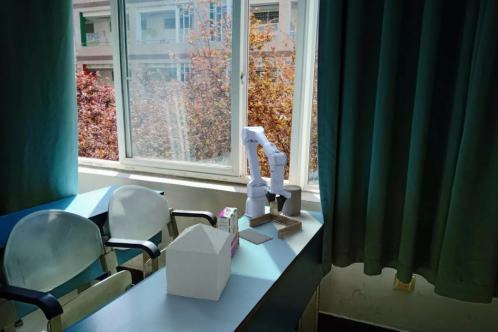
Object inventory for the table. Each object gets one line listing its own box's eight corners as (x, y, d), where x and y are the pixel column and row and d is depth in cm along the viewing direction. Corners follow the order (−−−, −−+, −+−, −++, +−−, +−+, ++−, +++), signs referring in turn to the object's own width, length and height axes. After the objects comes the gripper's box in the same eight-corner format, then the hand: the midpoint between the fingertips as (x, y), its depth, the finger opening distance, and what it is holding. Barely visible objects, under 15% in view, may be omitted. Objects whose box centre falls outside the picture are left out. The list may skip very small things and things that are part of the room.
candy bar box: (224, 246, 136) (225, 206, 133) (237, 248, 135) (237, 207, 132) (216, 259, 125) (216, 216, 122) (230, 261, 124) (230, 217, 121)
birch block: (269, 213, 155) (269, 202, 154) (275, 211, 158) (275, 200, 157) (276, 215, 152) (276, 204, 151) (282, 213, 155) (282, 202, 154)
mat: (233, 234, 148) (233, 233, 148) (248, 229, 154) (248, 228, 154) (257, 244, 138) (257, 243, 138) (272, 238, 145) (272, 237, 145)
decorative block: (231, 273, 116) (231, 216, 112) (218, 301, 100) (218, 235, 96) (185, 268, 118) (184, 212, 115) (165, 294, 103) (163, 230, 99)
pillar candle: (301, 211, 180) (302, 183, 177) (299, 217, 171) (300, 187, 168) (282, 209, 182) (283, 181, 179) (279, 215, 173) (280, 186, 170)
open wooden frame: (249, 226, 158) (249, 219, 157) (271, 218, 168) (271, 211, 167) (279, 238, 145) (280, 230, 144) (301, 229, 155) (302, 221, 155)
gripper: (258, 178, 154) (257, 208, 157) (284, 185, 144) (282, 216, 147) (269, 176, 159) (268, 204, 162) (294, 182, 149) (293, 212, 152)
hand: (275, 210), depth 155 cm, fingers closed on birch block, 4 cm apart
